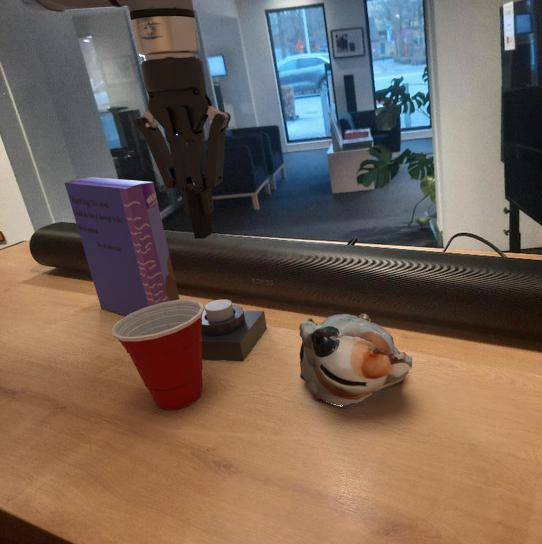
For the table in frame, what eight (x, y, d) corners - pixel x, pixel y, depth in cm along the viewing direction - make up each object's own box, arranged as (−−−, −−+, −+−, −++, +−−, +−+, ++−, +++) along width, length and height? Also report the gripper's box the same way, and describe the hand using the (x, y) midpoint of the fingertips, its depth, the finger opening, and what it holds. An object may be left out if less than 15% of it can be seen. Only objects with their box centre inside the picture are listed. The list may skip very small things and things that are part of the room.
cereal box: (183, 315, 87) (152, 180, 78) (160, 327, 84) (125, 187, 75) (124, 298, 96) (91, 175, 87) (101, 308, 93) (64, 181, 84)
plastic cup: (179, 366, 71) (161, 291, 67) (237, 383, 67) (222, 302, 62) (114, 410, 63) (89, 327, 58) (176, 433, 58) (153, 343, 53)
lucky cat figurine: (419, 362, 68) (435, 302, 58) (387, 440, 61) (399, 388, 50) (321, 323, 71) (319, 260, 61) (280, 393, 64) (270, 335, 54)
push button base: (167, 358, 74) (160, 329, 72) (199, 326, 83) (193, 299, 81) (243, 361, 72) (237, 331, 70) (267, 328, 81) (262, 300, 79)
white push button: (202, 322, 74) (200, 310, 73) (214, 310, 78) (211, 299, 77) (227, 323, 73) (225, 310, 73) (238, 311, 77) (236, 299, 76)
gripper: (106, 60, 60) (148, 244, 69) (204, 53, 58) (235, 244, 67) (141, 61, 67) (176, 228, 76) (231, 55, 65) (256, 227, 74)
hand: (203, 235), depth 71 cm, fingers closed
